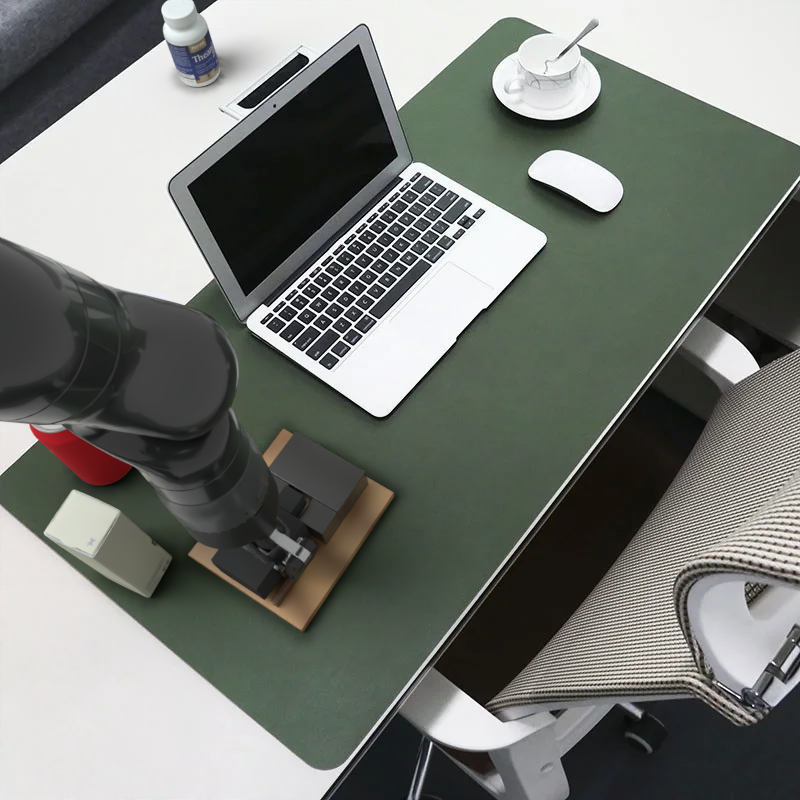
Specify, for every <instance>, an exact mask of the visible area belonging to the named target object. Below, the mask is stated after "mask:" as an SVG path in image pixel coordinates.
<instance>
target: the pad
mask: <svg viewBox="0 0 800 800" xmlns="http://www.w3.org/2000/svg"><path fill="white" fill-rule="evenodd" d="M306 504H307V502H306V500H305V498H304V496H303V495H302V494H300V493H299V492H297V491H295V490H294V489H292V488H290V487H289V486H287V485H285V487H284V488H283V489H282V491H281V492H280V494H279V503H278V511H277V516H278V517H279V518H280V519H281V520H282V521H283V523H284V524H285V525H286V526H287V527H288V528H289V529H290V539H292V540H293V541H295V542H296V541H297V540H298V538H299V537H301V538H303V539H304V538H309V536H310V533H309V531H308V529H307V527H306V525H305V523H304V522H303V521H301V520H300V519H298V518H297V517H298V515H299V514H300V513H301V511H302V510H303V508H304V507H305V506H306ZM257 548H259V547H257ZM279 550H280V549H279ZM279 550H278V551H279ZM276 554H277V553H276ZM211 561H212V562H213V563H214V564H215V565H216V566H217V568H218V569H219V570H220V571H221V572H223V573H224V574H226V575H227V576H229V577H230V578H232V579H233V580H235V581H236V582H238V583H239V584H241V585H242V586H244V587H245V588H247V589H249V590H250V591H252V592H253V593H255V594H256V595H258V596H259V597H261V598H262V599H264V600H265V599H266V598H267V596H268V595H269V593H270V592H271V591H272V589H273V588H274V586H275V585H276V583H277V582H278V581H279V579H280V578H281V576H280V575H279V574H278V573H277V572H276V570H275V569H274V568H273V566H272V565H271V564H270V563H269V564H265V563H263V562H261V561H260V560H258V559H256V558H255V557H254V556H253V555H251V554H250V553H249V552H248V551H246V550H245V549H243V548H241V547H239V548H235V549H226V550H223V549H218V551H217V552H216V553H215V555H214V556H213V557H212V559H211Z"/></svg>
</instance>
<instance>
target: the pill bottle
mask: <svg viewBox="0 0 800 800" xmlns="http://www.w3.org/2000/svg"><path fill="white" fill-rule="evenodd" d="M197 10H198V9H197V7H196V5H195V1H193V0H166V1H165V2H164V3H163V4H162V6H161V15H162V18H163V21H164V23H163V25H162V33H163V37H164V39H165V42H166V45H167V47H168V50H169V53H170V56H171V58H172V62H173V63H174V66H175V69H176V72H177V75H178V77H179V79H180V81H181V82H182V83H183V84H185V85H187V86H189V87H193V88H200V87H205V86H208V85H210V84H212V83H213V82H214V81H216V80H217V78H218V77H219V76H220V73H221V65H220V62H219V58H218V54H217V52H216V48H215V46H214V42H213V39H212V36H211V32H210V29H209V26H208V23H207V20H206V18H205V17H204V16H203V15H202V14H200V13H198V11H197Z"/></svg>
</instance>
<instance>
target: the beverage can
mask: <svg viewBox="0 0 800 800" xmlns="http://www.w3.org/2000/svg"><path fill="white" fill-rule="evenodd" d="M28 426H29V429H30V430H31V433H32V435H33V436H34V437H35V438H36V439H37V440H38V441H39V442H40V443H41V444H42V445H43V446H44V447H46V448H47V449H48V450H49V451H50V452H51V453H52V454H53V455H54V456H55V457H57V459H59V460H60V461H61V462H62V463H63V464H64V465H65V466H67V468H68V469H70V471H72V472H73V473H74V474H75V475H76V476H77V477H79V479H81V480H82V481H83V482H85V483H87V484H90V485H92V486H107V485H110V484H113V483H115V482H117V481H119V480H121V479H123V478H124V477H125V476H126V475H127V474H128V473H129V471H130V470H131V469H132V468H133V466H132V465H130V464H127V463H125V462H123V461H121V460H119V459H117V458H115V457H113V456H111V455H109V454H107V453H106V452H104V451H102V450H100V449H99V448H97V447H95V446H93V445H91V444H90V443H88V442H86V441H84V440H83V439H81V438H79V437H78V436H76V435H75V434H73V433H72V432H70V431H69V430H67V429H66V428H65V427H63V426H62V425H61V424H59V425H36V424H35V425H34V424H28Z"/></svg>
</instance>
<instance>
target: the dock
mask: <svg viewBox="0 0 800 800" xmlns="http://www.w3.org/2000/svg"><path fill="white" fill-rule="evenodd" d="M262 456H263V458H264V460H265V462H266V464H267V465H268V467H269V469H270V471H271V473H272V475H273V477H274V479H275V481H276V484H277V487H278V492H279V494H280V492H281V491H282V489H283V488H284V487H285V485H287V486H289V487H290V488H292V489H294V490H295V491H297V492H299V493H300V494H302V495H303V496H304V498H305V500H306V502H307V504H306V506H305V507H304V508H303V510H302V511H301V513H300V514H299V515H298V517H297V518H298V519H300V520H301V521H303V522H304V523H305V525H306V527H307V529H308V531H309V533H310V536H309V538H308V539H312V540H313V541H314V542H315V544H316V545H317V550H316V554H315V557H314V558H313V560H312V561H311V562H310V563H309V565H308V566H307V568H306V569H305V570H304V572H303V573H302V575H301V577H300V579H299V580H298V581H297V580H295V579H294V580H292V579H291V578H290V577H288V576H289V575H288V576H287V577H286V578H283V577H282V576H281V578H280V579H279V581H278V582H277V583H276V585H275V586H274V588H273V589H272V591H271V592H270V593H269V595H268V596H267V598H266V599H265V600H264V599H262V598H261V597H259V596H258V595H256V594H255V593H253V592H252V591H250V590H249V589H247V588H245V587H244V586H242V585H241V584H239V583H238V582H236V581H235V580H233V579H232V578H230V577H229V576H227V575H226V574H224V573H223V572H221V571H220V570H219V569H218V568H217V566H216V565H215V564H214V563H213V562H212V561H211V559H212V557H213V556H214V555H215V553H216V552H217V551H218V549H215V548H211V547H208V546H205V545H203V544H201V543H200V542H198V541H197V542H196V543H195V544H194V545H193V547H192V548H191V550H190V551H189V552H188V554H187V556H188V557H189V558H190V559H192V560H193V561H195V562H196V563H197V564H199V565H200V566H202V567H204V568H205V569H206V570H208V571H210V573H213V574H214V575H216V576H217V577H218V578H220V579H221V580H223V581H224V582H226V583H228V584H229V585H231V586H232V587H234V588H235V589H237V590H238V591H239V592H241V593H243V595H246V596H247V597H249V598H250V599H252V600H253V601H254V602H256V603H258V604H259V605H260V606H262V607H264V608H265V609H267V610H268V611H270V612H271V613H273V614H274V615H276V616H277V617H279V618H280V619H282V620H283V621H285V622H286V623H288V624H289V625H291V626H292V627H294V628H295V629H297V630H299V631H300V632H301V633H303V632H305V630H306V629H307V628H308V626H309V624H310V623H311V622H312V620H313V619H314V617H315V616H316V615H317V613H318V611H319V610H320V608H321V607H322V605H323V604H324V602H325V601H326V600H327V598H328V597H329V595H330V593H331V591H332V590H333V589H334V587H335V586H336V584H337V583H338V581H339V580H340V578H341V577H342V575H343V574H344V573H345V571H346V570H347V568H348V566H349V565H350V563H351V562H352V560H353V559H354V558H355V556H356V554H357V553H358V551H359V550H360V549H361V547H362V546H363V544H364V542H365V541H366V539H367V538H368V536H369V535H370V533H371V532H372V531H373V529H374V528H375V526H376V524H377V523H378V521H379V520H380V519H381V517H382V515H384V513H385V511H386V510H387V509H388V507H389V505H390V504H391V502H392V501H393V499H394V498H395V493H394V492H393V491H392V490H390V489H389V488H387V487H385V486H384V485H382V484H379V483H378V482H376V481H375V480H373V479H371V478H370V477H368V476H367V473H366V471H364V470H363V469H361V468H360V467H358V466H356V465H354V464H353V463H351V462H349V461H348V460H346V459H344V458H342V457H341V456H339V455H337V454H335V453H334V452H332V451H330V450H328V449H327V448H325V447H324V446H321V445H320V444H318V443H317V442H315V441H314V440H311V439H310V438H308V437H306V436H304V435H303V434H301V433H299V432H298V431H295V432H293V433H292V432H290V431H289V430H287V429H285V428H282V429H281V431H280V432H279V433H278V434H277V436H276V438H275V439H274V440H273V441H272V442H271V444H270V445H269V446H268V447H267V449H266V451H264V453H263V454H262Z"/></svg>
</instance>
